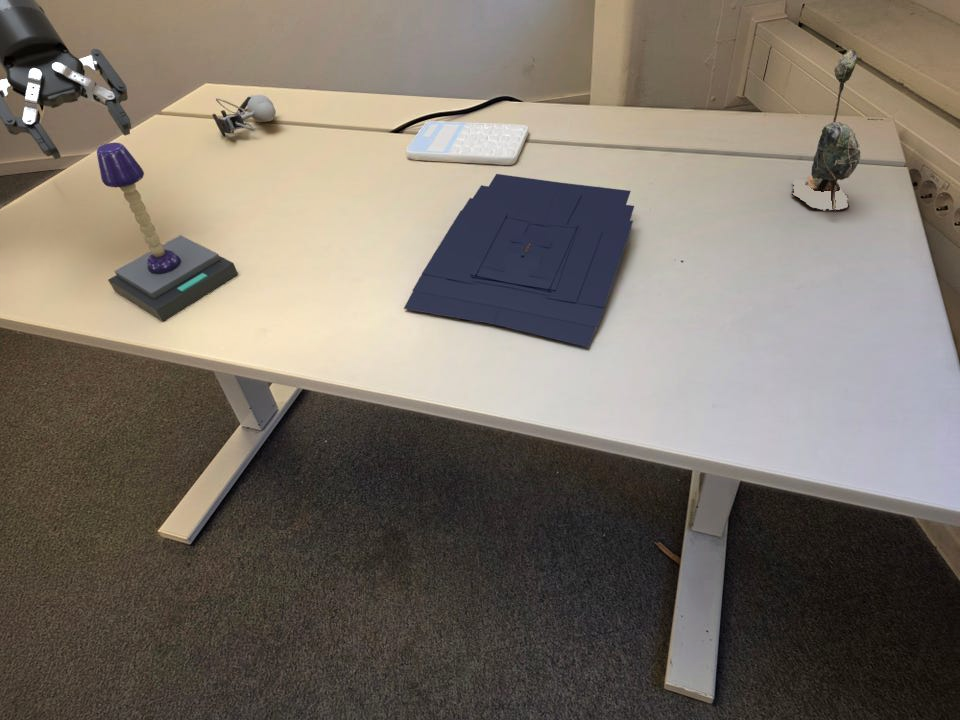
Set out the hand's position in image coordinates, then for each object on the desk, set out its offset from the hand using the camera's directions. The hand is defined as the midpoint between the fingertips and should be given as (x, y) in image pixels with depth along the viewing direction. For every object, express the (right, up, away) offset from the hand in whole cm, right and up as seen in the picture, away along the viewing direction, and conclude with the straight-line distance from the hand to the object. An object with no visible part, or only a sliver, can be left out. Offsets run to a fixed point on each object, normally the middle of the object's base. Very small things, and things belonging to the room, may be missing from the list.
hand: (92, 143), depth 75 cm
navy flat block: (+55, -13, +8) cm, 57 cm away
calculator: (+46, +12, +34) cm, 59 cm away
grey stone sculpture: (+98, -4, +14) cm, 99 cm away
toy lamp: (+6, -14, +7) cm, 17 cm away
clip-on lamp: (+1, +21, +48) cm, 52 cm away
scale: (+6, -16, +9) cm, 19 cm away
